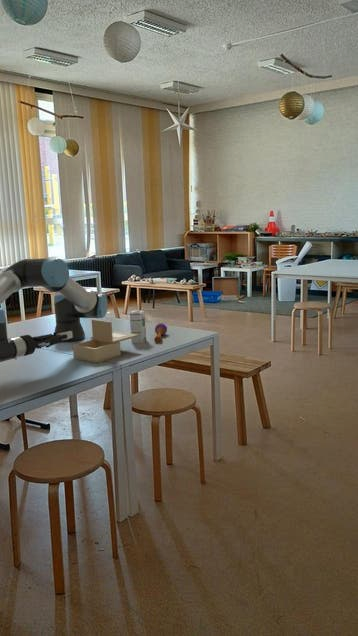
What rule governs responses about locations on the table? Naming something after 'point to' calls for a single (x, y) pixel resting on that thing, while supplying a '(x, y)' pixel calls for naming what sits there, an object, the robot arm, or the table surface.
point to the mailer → (96, 351)
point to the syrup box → (138, 326)
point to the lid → (108, 332)
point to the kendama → (160, 332)
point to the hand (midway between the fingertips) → (71, 334)
